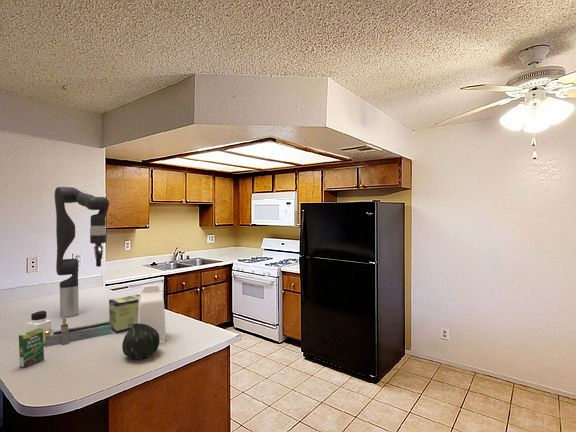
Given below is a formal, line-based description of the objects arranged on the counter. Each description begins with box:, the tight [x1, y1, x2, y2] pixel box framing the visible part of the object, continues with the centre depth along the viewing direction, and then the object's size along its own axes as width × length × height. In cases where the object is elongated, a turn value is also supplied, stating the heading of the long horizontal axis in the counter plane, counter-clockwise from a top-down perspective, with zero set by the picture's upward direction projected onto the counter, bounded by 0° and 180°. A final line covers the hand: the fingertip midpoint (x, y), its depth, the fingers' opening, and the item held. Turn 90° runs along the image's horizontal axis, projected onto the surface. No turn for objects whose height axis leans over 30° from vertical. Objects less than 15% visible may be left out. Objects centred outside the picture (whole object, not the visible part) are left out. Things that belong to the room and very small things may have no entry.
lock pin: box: [61, 315, 68, 326], centre depth 164 cm, size 2×2×9 cm
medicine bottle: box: [26, 310, 52, 338], centre depth 166 cm, size 7×7×12 cm
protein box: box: [108, 294, 141, 335], centre depth 178 cm, size 10×16×16 cm
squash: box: [121, 323, 160, 360], centre depth 144 cm, size 14×15×15 cm
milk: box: [138, 284, 167, 343], centre depth 162 cm, size 12×12×26 cm
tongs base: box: [43, 323, 113, 347], centre depth 164 cm, size 11×29×6 cm, turn 126°
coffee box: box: [18, 328, 45, 369], centre depth 137 cm, size 8×3×13 cm, turn 159°
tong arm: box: [52, 320, 110, 335], centre depth 167 cm, size 2×24×4 cm, turn 127°
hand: (98, 266), depth 180 cm, fingers closed
